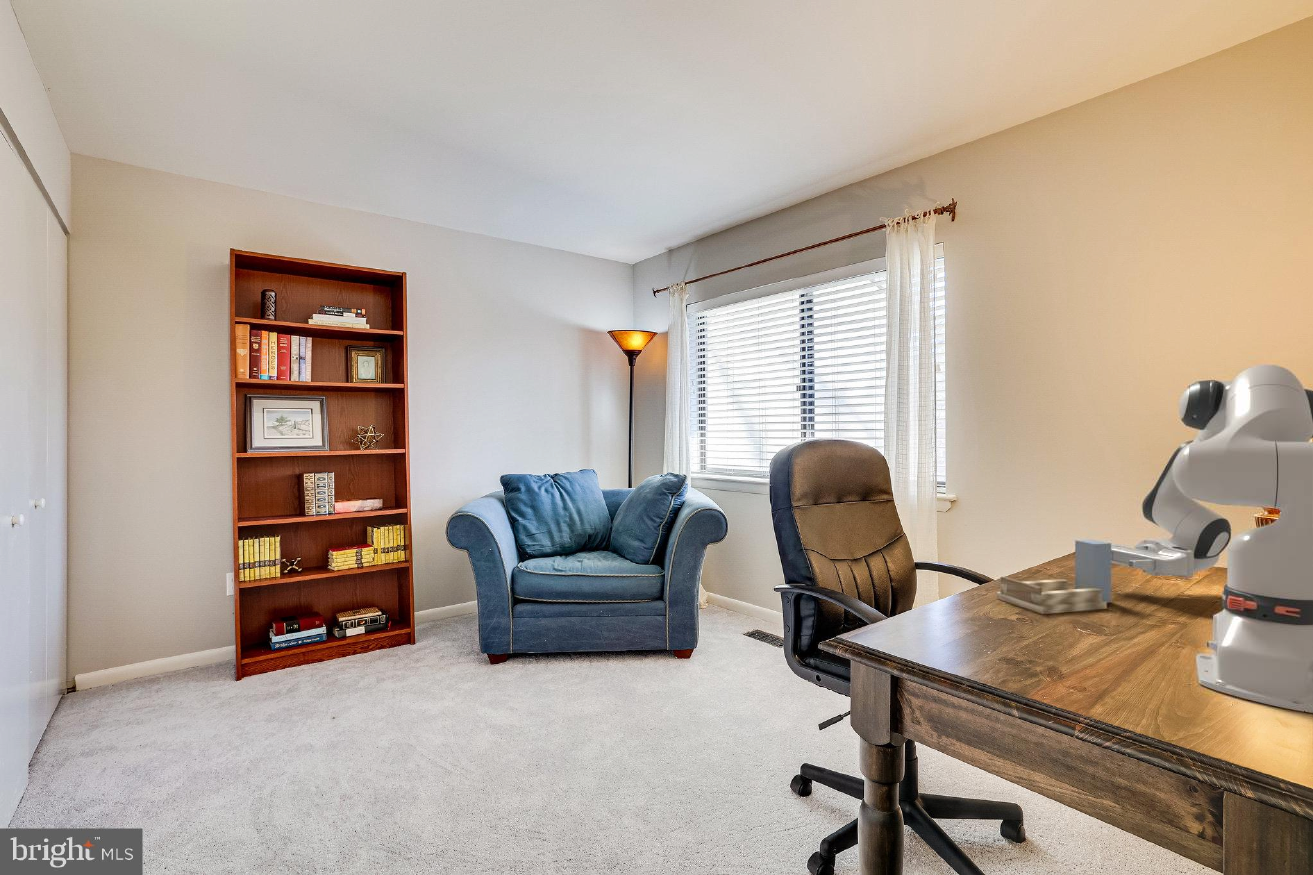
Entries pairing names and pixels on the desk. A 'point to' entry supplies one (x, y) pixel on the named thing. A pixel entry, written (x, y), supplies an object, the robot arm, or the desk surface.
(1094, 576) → the slate block
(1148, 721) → the desk surface
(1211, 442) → the robot arm
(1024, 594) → the shallow wooden tray
